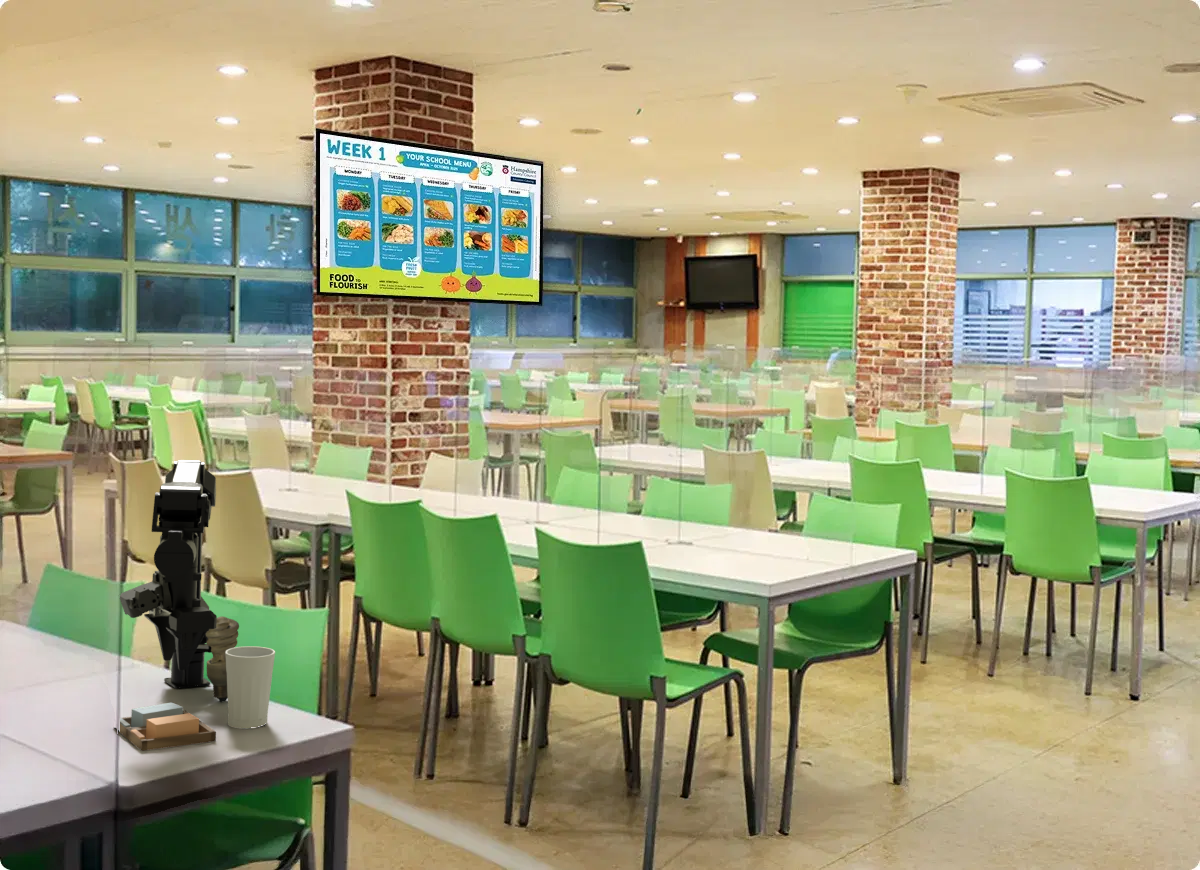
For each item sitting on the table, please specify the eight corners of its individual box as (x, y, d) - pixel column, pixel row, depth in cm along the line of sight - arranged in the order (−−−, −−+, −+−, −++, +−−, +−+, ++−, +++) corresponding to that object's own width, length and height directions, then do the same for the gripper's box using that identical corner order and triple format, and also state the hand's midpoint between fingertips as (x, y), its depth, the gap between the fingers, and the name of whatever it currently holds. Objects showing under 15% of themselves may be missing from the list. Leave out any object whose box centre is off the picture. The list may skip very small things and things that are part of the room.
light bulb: (219, 707, 231) (222, 621, 230) (196, 701, 234) (199, 616, 233) (243, 700, 236) (246, 616, 235) (220, 695, 239) (223, 611, 238)
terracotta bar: (145, 741, 210) (146, 719, 210) (188, 735, 215) (189, 713, 215) (155, 747, 208) (156, 724, 207) (198, 741, 212) (199, 718, 212)
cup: (259, 732, 218) (262, 659, 217) (213, 726, 220) (216, 654, 219) (280, 719, 226) (283, 649, 225) (236, 714, 228) (239, 644, 227)
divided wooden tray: (113, 727, 216) (114, 716, 216) (185, 719, 223) (185, 708, 223) (141, 750, 205) (142, 739, 205) (215, 741, 212) (216, 729, 212)
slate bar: (130, 731, 216) (131, 708, 215) (170, 724, 221) (171, 702, 220) (142, 736, 213) (143, 714, 213) (182, 729, 218) (183, 707, 218)
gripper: (107, 559, 212) (103, 656, 213) (146, 578, 197) (142, 683, 198) (177, 556, 219) (173, 650, 220) (219, 574, 204) (215, 676, 205)
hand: (174, 664), depth 210 cm, fingers open, 6 cm apart
